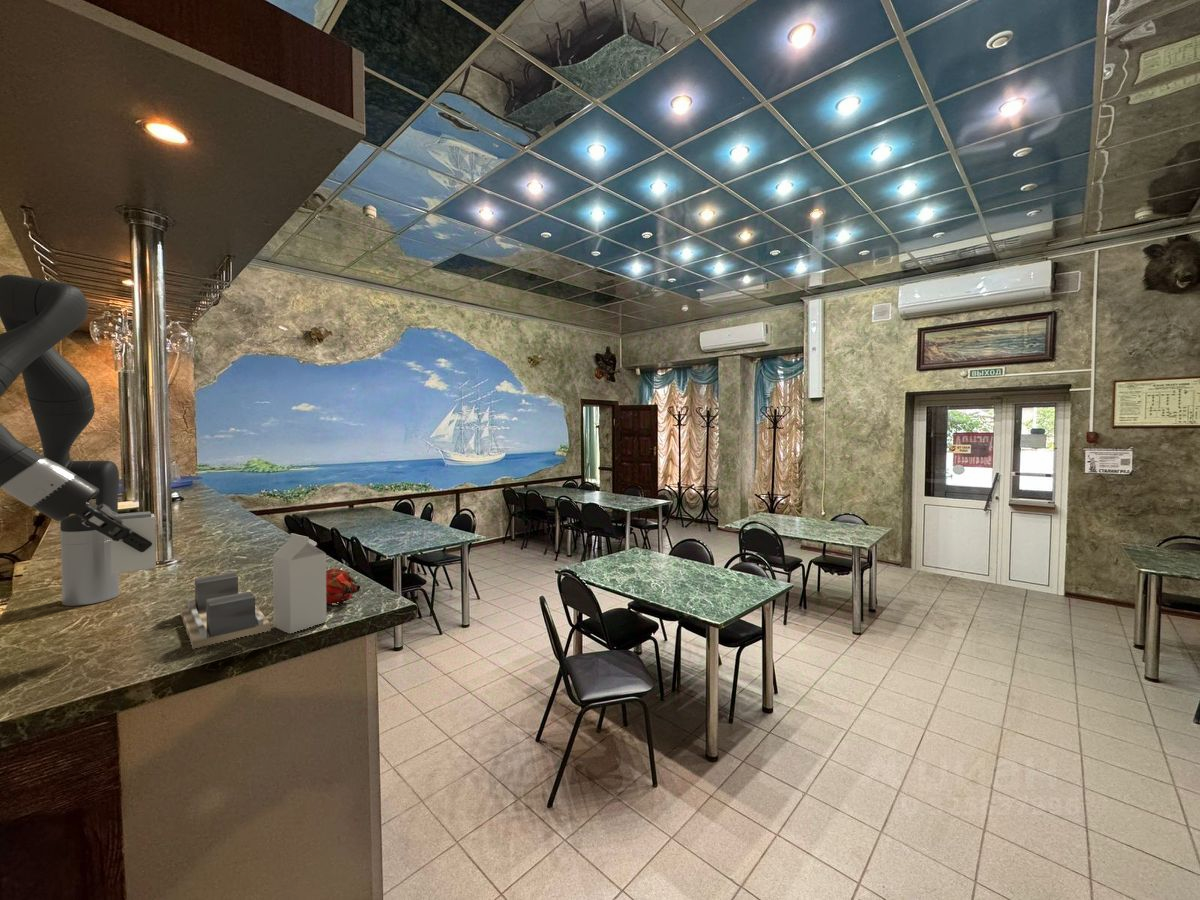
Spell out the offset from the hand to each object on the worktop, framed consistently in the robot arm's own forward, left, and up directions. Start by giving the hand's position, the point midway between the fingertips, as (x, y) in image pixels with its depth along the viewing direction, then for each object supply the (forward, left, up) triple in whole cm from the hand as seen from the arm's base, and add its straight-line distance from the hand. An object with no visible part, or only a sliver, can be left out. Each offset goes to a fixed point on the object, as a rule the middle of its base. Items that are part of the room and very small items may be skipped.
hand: (146, 545), depth 92 cm
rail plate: (+2, +11, -18) cm, 21 cm away
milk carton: (+15, +22, -18) cm, 33 cm away
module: (0, -2, -4) cm, 5 cm away
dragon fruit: (+5, +32, -18) cm, 37 cm away
